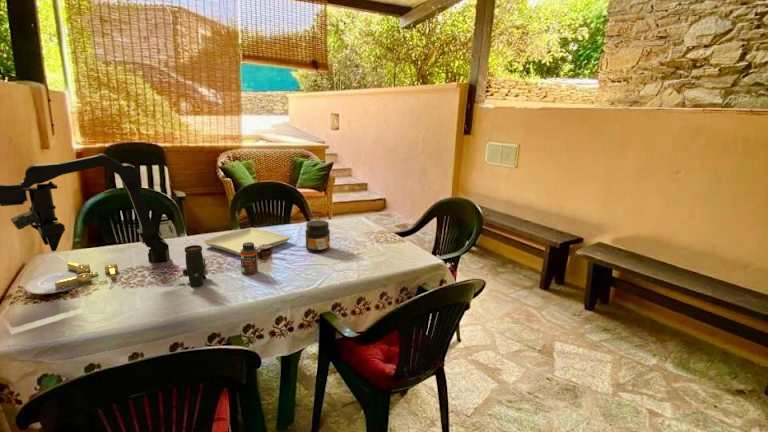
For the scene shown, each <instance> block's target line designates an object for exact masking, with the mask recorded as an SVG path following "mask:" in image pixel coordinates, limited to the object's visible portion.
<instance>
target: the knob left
mask: <svg viewBox="0 0 768 432" xmlns="http://www.w3.org/2000/svg"><path fill="white" fill-rule="evenodd" d="M92 281H93V280H92V277H91V274H90V273H82V274H79V275H78V274H77V275H76V276H74V277H69V278H65V279H61V280H57V281H54V287H55V289H56V290H60V288H61V289H64V288H68V287H72V286H76V285H87V284H89V283H91V282H92ZM75 284H76V285H75ZM71 285H72V286H71ZM67 286H68V287H67ZM63 287H64V288H63Z"/></svg>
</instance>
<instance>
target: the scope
mask: <svg viewBox="0 0 768 432" xmlns="http://www.w3.org/2000/svg"><path fill="white" fill-rule="evenodd" d="M202 251H203V247H202V246H201V245H199V244H198V245H197V244H194V245H193V244H192V245H188V246H185V247H184V253H185V267H186V268H185V269H183V270H182V275H183V277H186V278H187V277H188V281H189V284H190V285H189V286H190V288H192V289H195V288H196V289H197V288H201V287H203V286H204V280H206V279H207V277H206V276H207V275H208V274H209V272H208V271H209V270H208V269H207V266H208V265H207V263H206V258H205V257H203V252H202Z"/></svg>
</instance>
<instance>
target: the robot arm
mask: <svg viewBox="0 0 768 432" xmlns="http://www.w3.org/2000/svg"><path fill="white" fill-rule="evenodd" d="M100 167H103V168H104V169H107V170H109V171H111V172H112V173H114V174H117V175H118V176H119V179H120V180H121V182H122V184H123V185H124V186H125V188H126V190H127V193H128V196H129V198H130V201H131V202H132V205H133V208H134V211H135V214H136V216H137V219H138V222H139V225H140V228H139V229H136V231H137V233H138V235H139V240H140V241H141V244H144V245H145V246H146V247H147V248H149V249H148V253H147V259H148V262H149V263H153V264H163V263H168V261H170V260H171V261H173V260H172V258H170V257H171V256H170V247H169V244H168V243H167V241H166V240H165V239H164V238H163V237H161V236H160V234H159V232H158V230H157V229H156V228H155V225H154V224H153V222H152V219H151V217H150V214H149V211H148V209H147V206H146V203H145V201H144V197H143V194H142V191H141V190H140V179H139V173H138V170H137V168H135V166H134V165H132V164H130V163H125V162H124V163H122V162H120V161H118V160H116V159H113V158H111V157H109V156H107V154H104V153H98V154H97V155H96V154H95V155H90V156H86V157H82V158H81V157H80V158H77V159H72V160H66V161H62V162H46V163H43V162H41V163H32V164H30V165H28V167H27V168H26V170H25V173H24V175H25V176H24V178H23V179H22V180H21V181H20V183H16V184H15V183H14V184H13V183H12V184H11V183H10V184H0V207H11V206H20V205H21V206H22V205H24V206H25V203H26V202H28V200H29V199H30V205H29V211H26V212H23V213H21V214H18V215H16V216H14V217H11V218H10V221H11V222H12V224H13V226H14V227H15V229H17V230H23V229H25V228H26V227H27V226H30V227H32V228H33V229H35V230H36V231H37V232H38V234H39V236H40V239H41V240H42V242H43V245H45V246H47V245H48V246H49V248H50V250H51V252H56V251H57V250H58V246H59V244H60V241H61V239H62V236H63V234H64V233H65V231H66V226H65V225H64V223H62V222H60V221H59V219H58V217H57V216H56V211H55V209H57V207H56V205H55V204H54V198H53V194H52V190H55V189H58V184H55V183H54V182H53V181H52V180H54V179H55V178H58V177H60V176H63V175H67V174H73V173H77V172H81V171H85V170H90V169H95V168H100ZM48 181H49V182H48ZM46 182H47V183H46ZM34 185H36V186H34ZM27 192H28V193H27ZM28 194H29V195H28ZM28 196H29V199H28Z"/></svg>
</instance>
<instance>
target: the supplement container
mask: <svg viewBox="0 0 768 432" xmlns="http://www.w3.org/2000/svg"><path fill="white" fill-rule="evenodd" d="M305 226H306V229H305V230H304V231H305V250H306V251H308V252H310V253H313V254H314V253H316V254H320V253H325V252H327V251H328V250H330V248H331V242H330V241H331V230H330V228H329V227H330V223H329V221H326V220H323V219H321V220H320V219H319V220H317V219H315V220H314V219H313V220H310V221H307V222H306V225H305Z"/></svg>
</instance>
